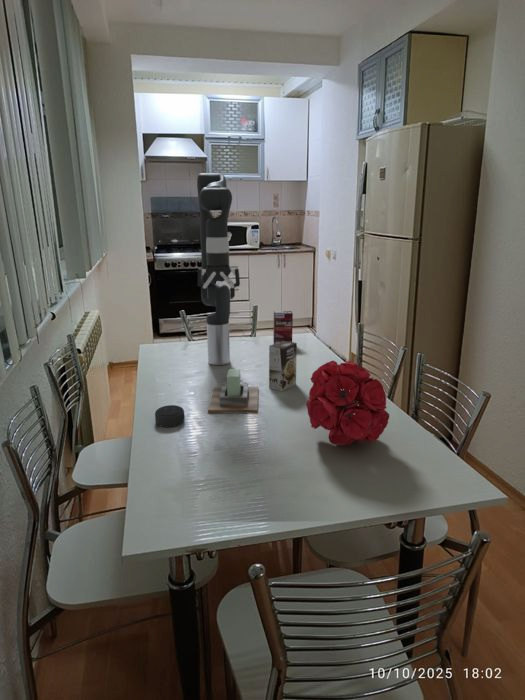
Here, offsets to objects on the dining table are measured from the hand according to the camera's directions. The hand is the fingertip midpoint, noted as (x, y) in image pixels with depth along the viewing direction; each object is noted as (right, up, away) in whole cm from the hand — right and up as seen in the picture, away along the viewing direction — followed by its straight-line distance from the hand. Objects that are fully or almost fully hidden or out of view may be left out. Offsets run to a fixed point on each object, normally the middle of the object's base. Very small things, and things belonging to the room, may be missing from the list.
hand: (219, 298), depth 163 cm
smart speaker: (-14, -40, -16) cm, 45 cm away
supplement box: (+25, -15, +62) cm, 69 cm away
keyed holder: (+5, -35, -1) cm, 35 cm away
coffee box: (+22, -31, +12) cm, 40 cm away
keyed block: (+5, -34, -1) cm, 34 cm away
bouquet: (+38, -43, -26) cm, 63 cm away
